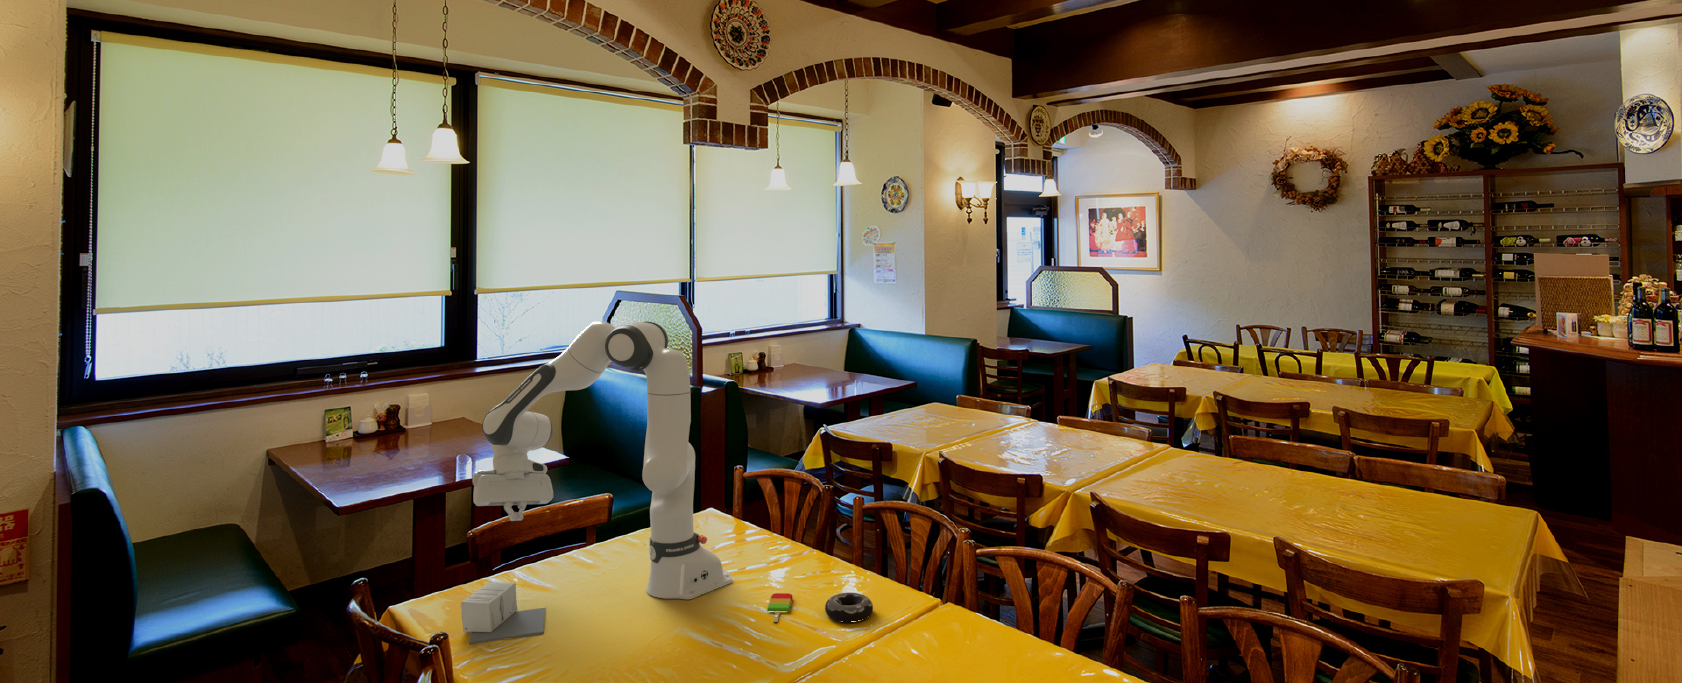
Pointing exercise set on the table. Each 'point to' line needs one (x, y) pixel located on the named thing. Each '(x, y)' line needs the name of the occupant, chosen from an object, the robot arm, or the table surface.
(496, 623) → the supplement box
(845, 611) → the donut
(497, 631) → the rubber mat
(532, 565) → the table surface
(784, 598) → the popsicle
